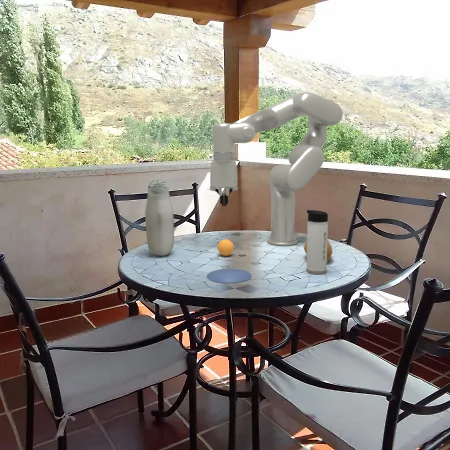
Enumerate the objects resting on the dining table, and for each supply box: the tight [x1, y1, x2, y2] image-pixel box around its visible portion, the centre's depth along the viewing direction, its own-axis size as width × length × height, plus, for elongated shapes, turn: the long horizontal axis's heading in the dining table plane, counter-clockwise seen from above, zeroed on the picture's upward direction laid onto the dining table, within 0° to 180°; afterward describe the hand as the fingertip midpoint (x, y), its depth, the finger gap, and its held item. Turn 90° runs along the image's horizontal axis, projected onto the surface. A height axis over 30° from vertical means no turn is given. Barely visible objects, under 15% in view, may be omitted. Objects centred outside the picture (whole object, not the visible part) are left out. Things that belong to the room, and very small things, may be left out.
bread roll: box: [303, 239, 333, 262], centre depth 154 cm, size 10×15×8 cm, turn 178°
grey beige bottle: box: [144, 179, 175, 257], centre depth 161 cm, size 10×10×28 cm
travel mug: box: [306, 209, 329, 275], centre depth 139 cm, size 6×7×20 cm
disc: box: [206, 268, 252, 284], centre depth 138 cm, size 14×14×1 cm
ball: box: [217, 238, 235, 257], centre depth 161 cm, size 6×6×6 cm
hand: (224, 205), depth 168 cm, fingers closed
